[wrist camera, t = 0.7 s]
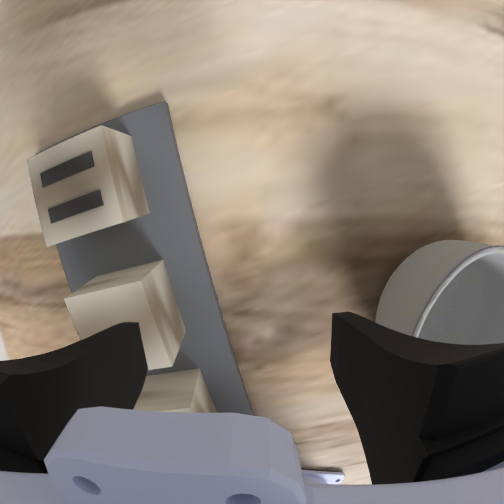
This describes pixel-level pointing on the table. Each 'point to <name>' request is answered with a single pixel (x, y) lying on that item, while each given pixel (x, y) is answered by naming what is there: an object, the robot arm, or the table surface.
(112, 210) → the marked block two
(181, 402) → the marked block one
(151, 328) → the plain block
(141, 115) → the mat
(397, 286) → the teacup
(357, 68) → the table surface
